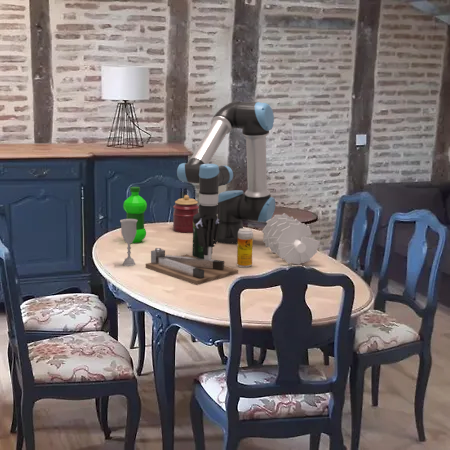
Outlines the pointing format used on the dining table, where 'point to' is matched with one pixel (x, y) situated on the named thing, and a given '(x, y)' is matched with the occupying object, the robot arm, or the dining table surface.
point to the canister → (184, 214)
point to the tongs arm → (198, 262)
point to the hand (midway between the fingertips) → (207, 262)
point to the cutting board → (208, 276)
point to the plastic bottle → (136, 212)
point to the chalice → (128, 237)
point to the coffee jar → (196, 240)
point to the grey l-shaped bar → (174, 264)
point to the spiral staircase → (289, 239)
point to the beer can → (244, 247)
